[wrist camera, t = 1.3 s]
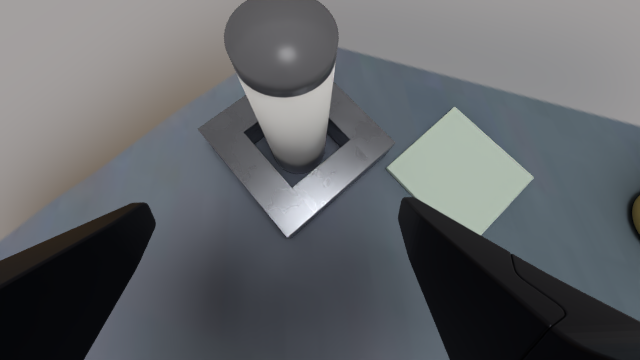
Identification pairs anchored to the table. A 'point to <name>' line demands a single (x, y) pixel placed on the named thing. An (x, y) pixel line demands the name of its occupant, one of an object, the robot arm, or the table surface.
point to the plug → (286, 74)
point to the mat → (460, 172)
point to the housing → (316, 188)
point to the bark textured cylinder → (636, 213)
